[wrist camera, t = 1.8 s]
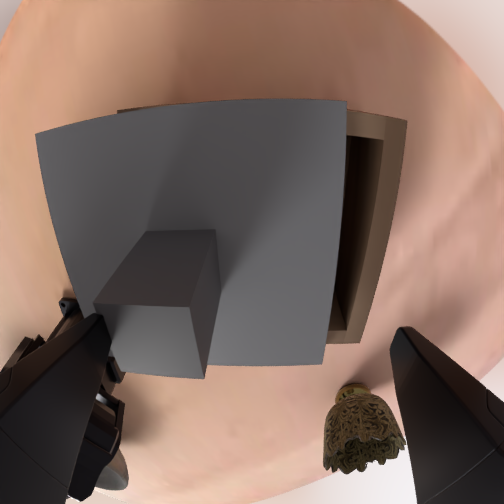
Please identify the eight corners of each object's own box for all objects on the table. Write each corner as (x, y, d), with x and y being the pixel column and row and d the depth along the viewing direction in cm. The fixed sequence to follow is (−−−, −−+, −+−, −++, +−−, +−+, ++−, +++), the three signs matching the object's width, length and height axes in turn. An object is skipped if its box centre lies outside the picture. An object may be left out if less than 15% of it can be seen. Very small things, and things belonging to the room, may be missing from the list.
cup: (379, 357, 25) (402, 429, 18) (391, 395, 28) (409, 456, 21) (304, 385, 27) (311, 458, 20) (328, 417, 30) (336, 479, 23)
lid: (106, 344, 17) (70, 419, 12) (47, 130, 11) (-47, 164, 6) (319, 351, 17) (333, 443, 11) (340, 100, 11) (405, 106, 5)
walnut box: (173, 278, 22) (149, 334, 17) (161, 105, 16) (117, 110, 11) (340, 284, 22) (359, 343, 16) (364, 112, 16) (407, 120, 11)
